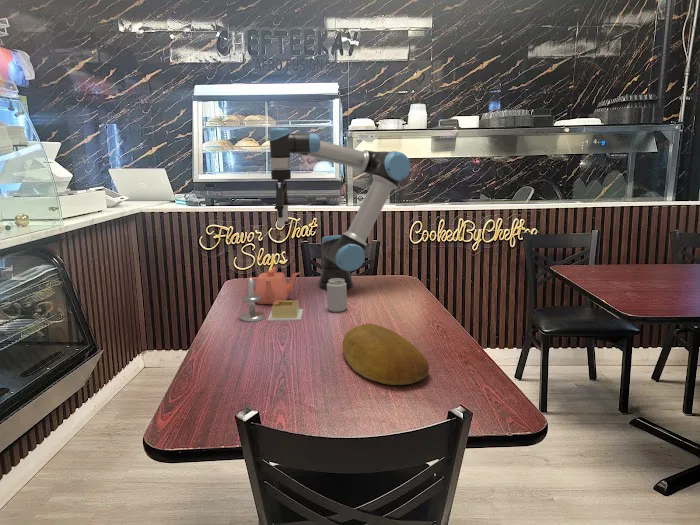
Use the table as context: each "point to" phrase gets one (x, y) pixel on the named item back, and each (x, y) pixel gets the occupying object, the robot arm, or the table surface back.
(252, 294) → the stand
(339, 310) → the can
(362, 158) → the robot arm
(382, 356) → the bread
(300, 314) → the mat
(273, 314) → the link
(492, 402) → the table surface
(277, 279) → the pot
